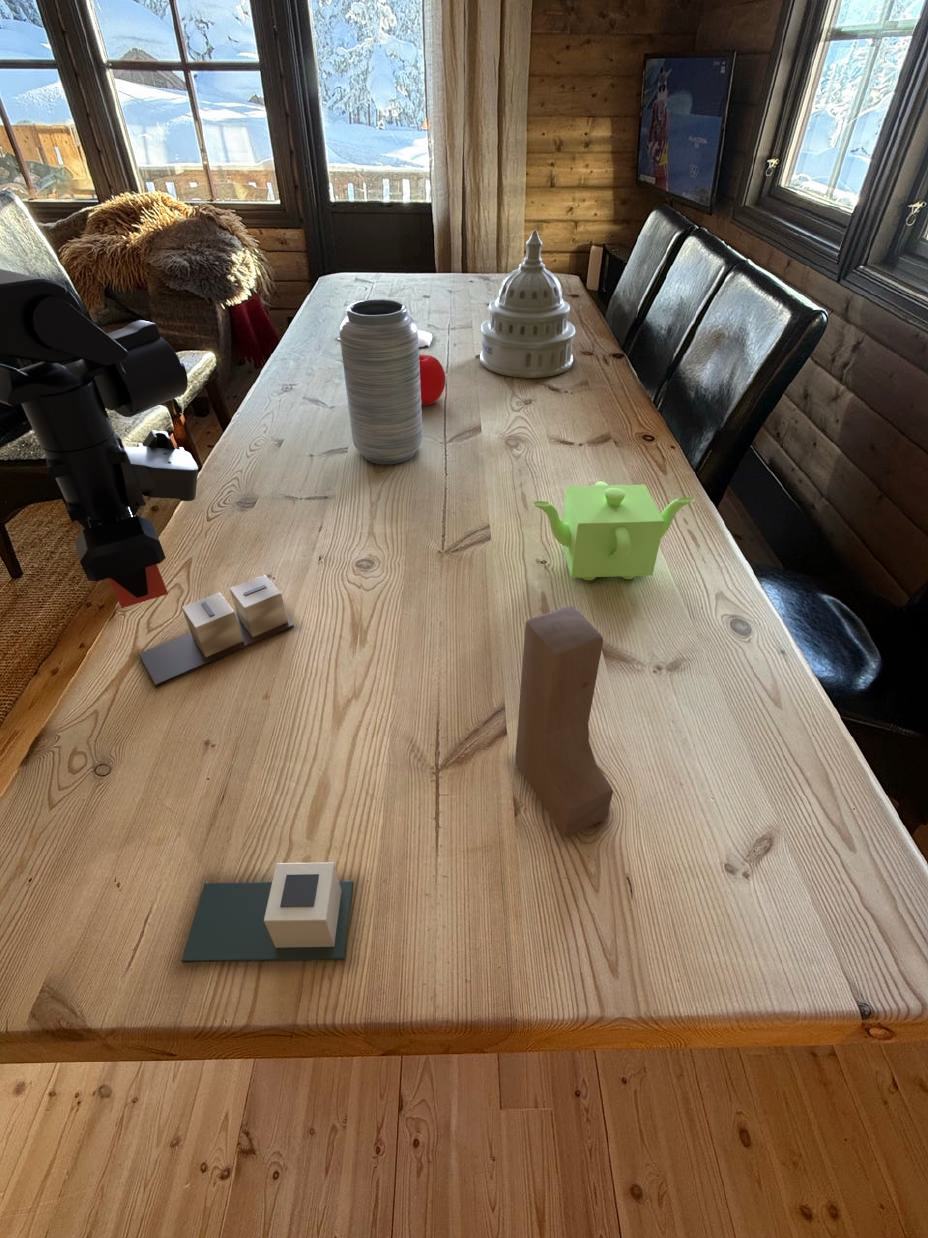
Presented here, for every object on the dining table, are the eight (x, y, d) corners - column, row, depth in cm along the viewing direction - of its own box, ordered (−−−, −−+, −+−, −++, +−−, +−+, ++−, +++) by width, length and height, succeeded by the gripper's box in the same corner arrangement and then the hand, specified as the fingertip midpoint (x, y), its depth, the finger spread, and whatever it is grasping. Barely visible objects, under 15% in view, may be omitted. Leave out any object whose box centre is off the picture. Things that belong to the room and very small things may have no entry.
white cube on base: (182, 963, 49) (162, 933, 46) (205, 885, 53) (188, 853, 50) (344, 960, 49) (335, 931, 46) (353, 883, 53) (346, 851, 50)
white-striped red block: (121, 608, 64) (105, 571, 61) (114, 584, 67) (98, 548, 64) (168, 594, 66) (154, 557, 63) (159, 571, 69) (145, 535, 66)
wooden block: (608, 820, 58) (643, 676, 46) (564, 840, 56) (589, 697, 44) (553, 746, 64) (573, 602, 52) (513, 762, 62) (523, 618, 51)
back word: (156, 687, 70) (141, 654, 67) (139, 656, 74) (124, 623, 70) (294, 627, 77) (286, 594, 74) (272, 601, 81) (264, 569, 78)
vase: (340, 451, 111) (321, 306, 96) (396, 431, 117) (385, 291, 102) (381, 476, 104) (366, 324, 89) (437, 454, 110) (432, 307, 95)
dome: (500, 216, 136) (596, 223, 131) (496, 341, 153) (582, 351, 147) (465, 236, 122) (572, 244, 117) (466, 371, 138) (559, 384, 133)
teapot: (526, 565, 86) (531, 494, 79) (579, 522, 94) (588, 453, 87) (631, 612, 79) (647, 537, 72) (679, 560, 87) (698, 489, 80)
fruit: (410, 389, 131) (407, 337, 125) (452, 396, 129) (451, 343, 122) (390, 407, 125) (385, 353, 118) (433, 414, 122) (431, 360, 116)
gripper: (200, 458, 52) (244, 608, 63) (155, 382, 65) (198, 518, 75) (46, 494, 48) (120, 649, 59) (29, 405, 61) (93, 546, 71)
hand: (138, 583), depth 66 cm, fingers closed on white-striped red block, 4 cm apart
